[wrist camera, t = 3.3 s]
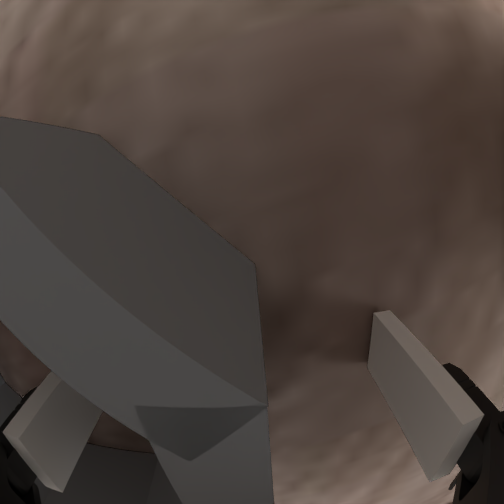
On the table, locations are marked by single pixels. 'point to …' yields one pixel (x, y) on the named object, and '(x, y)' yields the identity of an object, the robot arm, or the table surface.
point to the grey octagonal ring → (133, 321)
